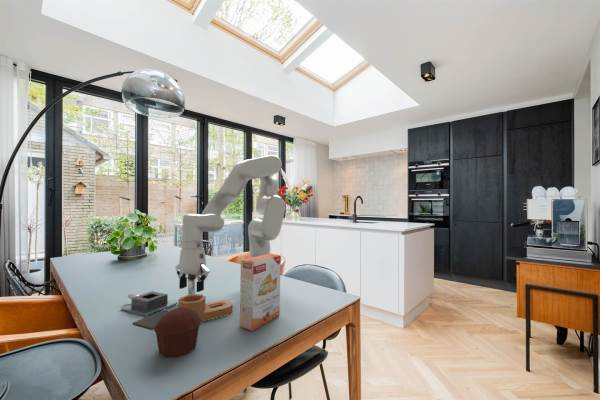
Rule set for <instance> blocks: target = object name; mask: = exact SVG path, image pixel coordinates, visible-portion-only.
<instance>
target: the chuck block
mask: <svg viewBox="0 0 600 400" xmlns="http://www.w3.org/2000/svg"><path fill="white" fill-rule="evenodd" d="M168 296H169V295H168V294H167V293H162V292H158V291H153V290H152V291H148V292H147V293H143V294H140V295H137V294H132V293H130V294H128V295H127V298H128V299H130V300H131V303H130V304H127V305H124V306H121V307H120V310H121V311H124V312H127V313H131V314H134V315H135V314H136V315H138V316H139V315H140V316H142V317H146V316H147V317H148V316H150V315H152V314H155V313H157V312H160V311H162V310H164V309H166V310H168V309H170V308H173V307H175V306H177V305H178V302H177V301H173V300H169V299H168V298H169V297H168ZM176 304H177V305H176ZM174 305H175V306H174ZM172 306H173V307H172ZM169 307H170V308H169ZM167 308H168V309H167Z"/></svg>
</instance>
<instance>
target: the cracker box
mask: <svg viewBox="0 0 600 400" xmlns="http://www.w3.org/2000/svg"><path fill="white" fill-rule="evenodd" d="M281 261H282V256H281V255H279V254H276V253H274V254H273V253H270V254H265V255H261V256H257V257H252V258H249V257H248V258H244V259H241V260H240V282H239V283H240V284H239V285H240V286H239V320H238V323H239V324H238V325H239V326H238V327H240V328H242V329H245V330H247V331H250V332H254V331H255V330H257V329H259V328H260V327H262V326H264V325H265V324H267V323H269V322H270V321H273V320H274V319H276V318H278V317H280V307H281V306H280V303H281V269H282V268H281V264H282V263H281Z"/></svg>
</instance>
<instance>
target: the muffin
mask: <svg viewBox="0 0 600 400" xmlns="http://www.w3.org/2000/svg"><path fill="white" fill-rule="evenodd" d="M201 324H202V322H201V318H200V316H199V315H198V314H197V313H196V312H195V311H193V310H192V309H189V308H185V307H181V308H178V307H175V308H173V309H171V310H169V312H167V313H166V314H165V315H163V316H162V317H161V318H160V319H159V321H158V322H157V324H156V325H155V327H154V329H153V330H154V332H155V335H156V336H155V337H156V342H157V348H158V354H159V355H160V356H162V357H163V358H166V359H168V358H169V359H170V358H172V359H173V358H175V359H177V358H180V357H183V356H187V355H189V354H190V353H191V352H193V351H194V350H195V349H196V347H197V341H198V336H199V329H200V325H201Z"/></svg>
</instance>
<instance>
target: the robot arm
mask: <svg viewBox="0 0 600 400" xmlns="http://www.w3.org/2000/svg"><path fill="white" fill-rule="evenodd" d="M282 165H283V164H282V160H281V158H280V157H279V156H278V155H276V154H269V155H265V156H261V157H256V158H249V159H245V160H242V161H238V162H236V164H235V165H234V166H233V167H232V169H231V170H230V172H229V174H228V175H227V177H226V179H225V180H224V182H223V184H222V185H221V187H220V188H219V190H218V191H217V192H216V193H215V194H214V195H213V196H212V198H211V199H210V200H209V201H208V202H207V204H206V206H205V207H204V209H203V210H202V212H201V214H199V213H186V214H184V215H183V216H182V228H181V229H182V231H181V232H182V233H181V234H182V236H181V237H182V239H181V242H182V243H181V250H180V254H179V263H178V264H177V265H176V266H175V271H176V274H177V275H178V279H179V289H180V290H181V289H184V288H188V275H196V279H197V280H196V292H197V293H199V292H202V291H204V290H205V287H204V286H205V281H206V279H207V278H208V276H209V273H210V272H211V271H210V269H209V268H207V264H206V263H207V261H206V252H205V248H203V247H204V242H203V238H204V237H203V235H204V234H203V233H204V232H205V233H206V232H209V233H216V232H220V231H221V230H222V229H223V228H224V226H225V220H224V218H223V216H221V215H222V213H223V212H224V210H225V209H226V208H227V207H229V205H231V204H233V203H234V202H235V201H237V200H238V198H240V195H241V194H242V192H243V190H244V189H245V187H246V185H247V184H248V182H249V181H250V180H255V179H259V181H260V188H259V193H258V195H257V201H256V205H255V211H256V212H257V213H258V214H259V215H261V216H263V217H257V218H253V219H252V220H251V221H250V222H249V224H248V226H247V234H248V235H247V236H248V241H249V256H248V258H252V257H257V256H261V255H265V254H271V241H274V240H276V239H277V238H278V237H279V235H280V232H281V230H282V225H283V221H284V217H285V212H286V204H285V201H284V199H283V197H281V196H280V195H278V193H279V180H278V177H277V175H276V174H277V173H279V172H280V171H281V169H282Z"/></svg>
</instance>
